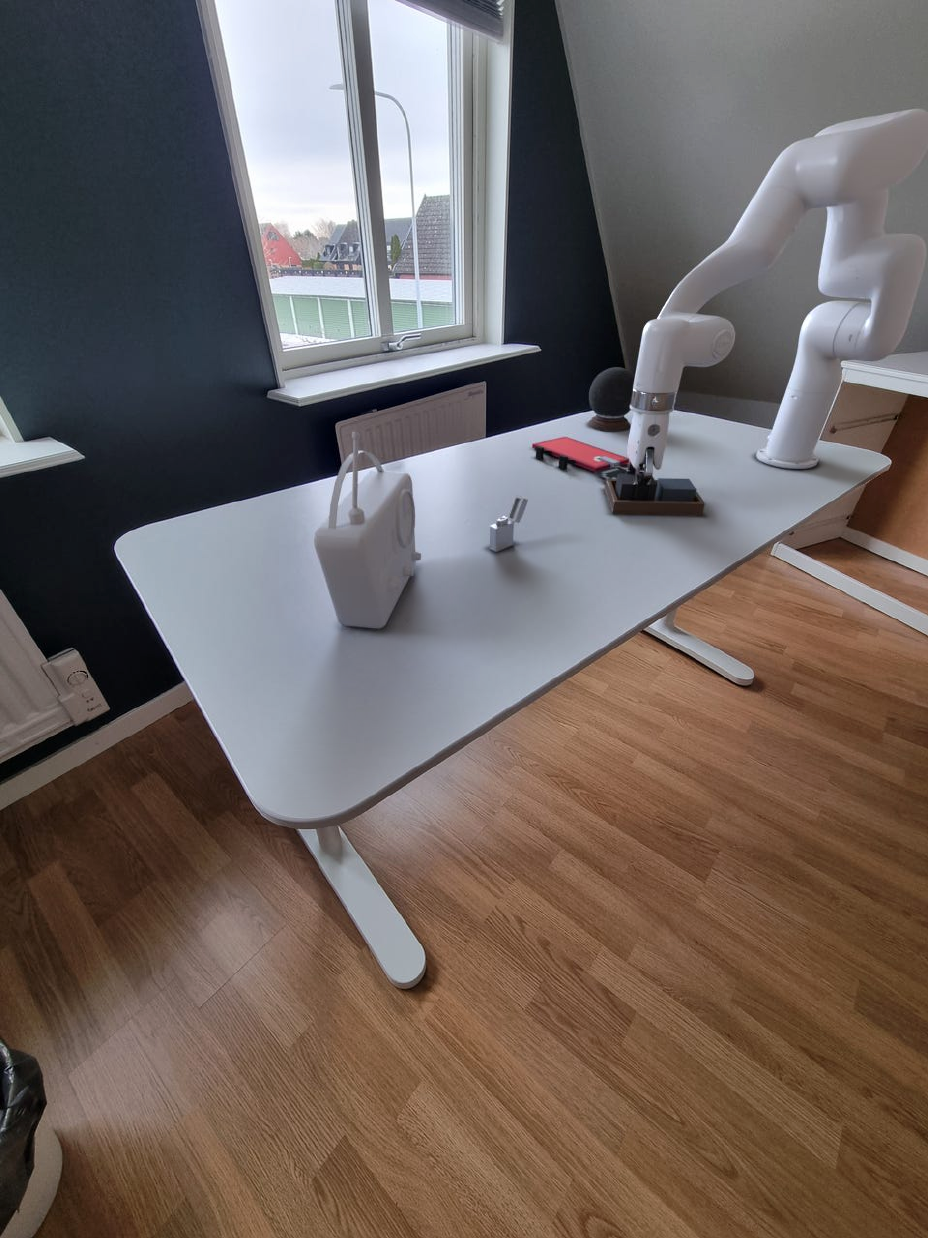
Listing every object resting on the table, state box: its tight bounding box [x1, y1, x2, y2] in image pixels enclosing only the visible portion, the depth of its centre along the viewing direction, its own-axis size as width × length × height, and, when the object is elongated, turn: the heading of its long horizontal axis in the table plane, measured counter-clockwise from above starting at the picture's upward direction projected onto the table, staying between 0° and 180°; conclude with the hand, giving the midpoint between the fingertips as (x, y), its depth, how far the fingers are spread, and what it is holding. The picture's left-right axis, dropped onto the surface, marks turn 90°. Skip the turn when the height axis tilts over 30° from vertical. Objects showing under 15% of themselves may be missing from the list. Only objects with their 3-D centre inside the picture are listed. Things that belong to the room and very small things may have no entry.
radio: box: [313, 431, 422, 630], centre depth 67 cm, size 22×8×25 cm, turn 170°
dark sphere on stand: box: [588, 366, 635, 432], centre depth 138 cm, size 13×13×15 cm
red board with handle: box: [531, 436, 629, 480], centre depth 117 cm, size 30×3×15 cm
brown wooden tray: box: [604, 478, 706, 517], centre depth 98 cm, size 12×17×2 cm
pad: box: [655, 477, 698, 502], centre depth 97 cm, size 6×6×4 cm
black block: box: [615, 474, 657, 501], centre depth 98 cm, size 6×7×4 cm
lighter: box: [489, 495, 529, 553], centre depth 84 cm, size 7×2×8 cm, turn 129°
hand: (634, 496), depth 98 cm, fingers closed on black block, 5 cm apart
